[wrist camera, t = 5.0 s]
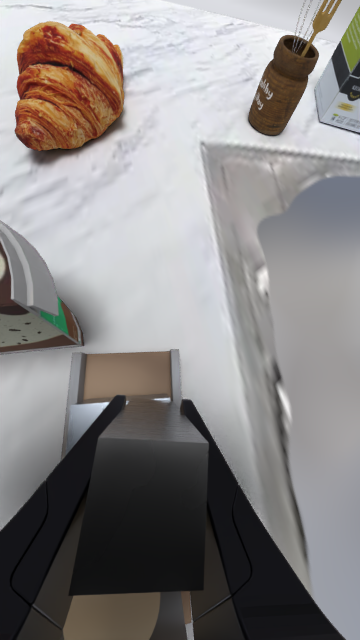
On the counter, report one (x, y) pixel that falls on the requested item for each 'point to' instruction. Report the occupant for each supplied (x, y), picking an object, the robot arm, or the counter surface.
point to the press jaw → (141, 500)
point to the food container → (31, 301)
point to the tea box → (342, 82)
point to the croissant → (66, 86)
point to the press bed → (130, 380)
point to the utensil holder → (287, 77)
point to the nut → (112, 617)
